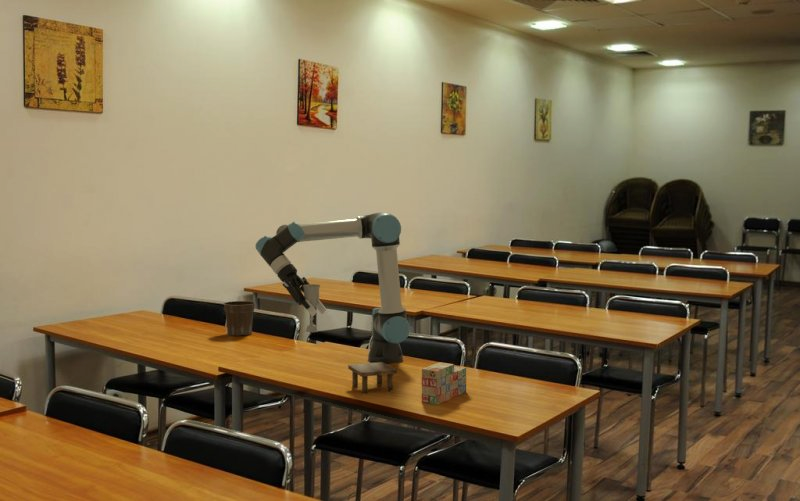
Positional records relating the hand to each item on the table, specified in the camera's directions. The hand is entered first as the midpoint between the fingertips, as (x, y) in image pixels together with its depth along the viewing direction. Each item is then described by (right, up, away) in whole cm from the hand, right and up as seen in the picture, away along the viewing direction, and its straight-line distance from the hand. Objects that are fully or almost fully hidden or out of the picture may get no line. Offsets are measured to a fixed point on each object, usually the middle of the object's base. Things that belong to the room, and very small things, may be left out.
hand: (319, 312), depth 312 cm
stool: (+21, -27, -12) cm, 36 cm away
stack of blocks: (+47, -29, -23) cm, 60 cm away
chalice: (-3, -7, +2) cm, 8 cm away
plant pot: (-51, -19, +97) cm, 111 cm away
